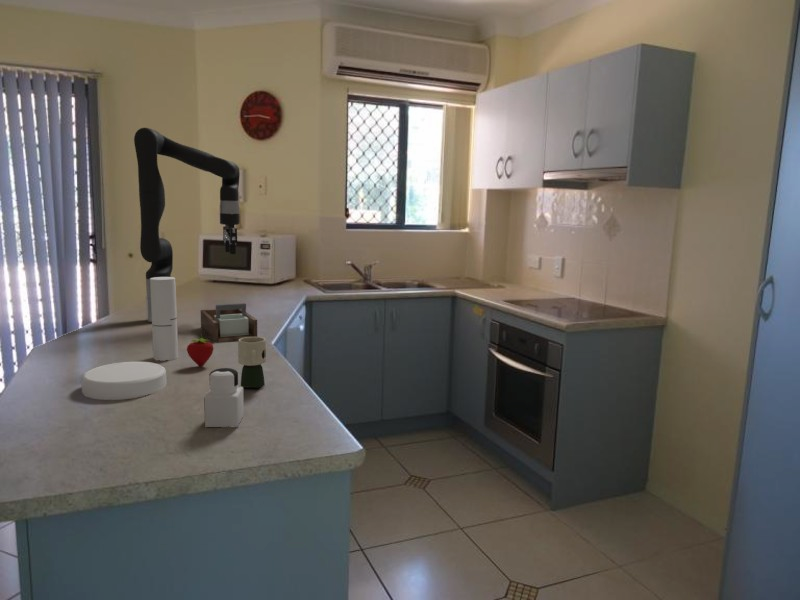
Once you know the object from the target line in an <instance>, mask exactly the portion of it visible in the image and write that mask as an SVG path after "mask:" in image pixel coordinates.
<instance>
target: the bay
mask: <svg viewBox="0 0 800 600" xmlns="http://www.w3.org/2000/svg"><path fill="white" fill-rule="evenodd" d="M228 314H242V309H234V310H220V315H228ZM214 315H216V308H214V309H213V308H211V309H200V328H201V330H202V331H203V332H204V331H205V332H204V333H205V334H206V335H207V336H208V337H209V338H210V339H211V341H213V343H214V342H217V343H223V342H224V341H228V342H237V341H236V340H239V339H241V338H245V337H258V319H257V318H255V317H254V316H252V315H251V314H250V313H248V312H247V311H246V317H247V318H248V325H249V335H240V336H228V337H220V336H219V335H218V323H217V322H216V321H215V320H214ZM224 343H225V342H224Z"/></svg>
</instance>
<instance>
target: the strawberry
mask: <svg viewBox="0 0 800 600" xmlns="http://www.w3.org/2000/svg"><path fill="white" fill-rule="evenodd" d="M200 335H201V338H199V339H192V342H190V343H189V344H188V345H187V347H186V351H187V355H188V357H190V359H191V360H192V361H193V362H194V363H195V365H197V366H198V367H203V366H204V365H205V364H206V363H207V362H208V361H209V359H210V358H211V357H212V355H213V352H214V349H215V348H214V345H213V344H212V343H211V342H210V341H211V340H210V339H209V340H208V339H205V338H203V336H202V334H200Z"/></svg>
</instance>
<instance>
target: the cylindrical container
mask: <svg viewBox="0 0 800 600" xmlns="http://www.w3.org/2000/svg"><path fill="white" fill-rule="evenodd" d="M176 285H177V283H176V277H173V276H172V277H154V278H150V289H151V312H152V322H151V330H152V351H153V353H152V354H153V355H152V356H153V360H154V359H155V360H154V361H158V360H160V361H161V362H163V361H164V362H166V361H165V360H168V361H173V360H176V359H178V358H179V343H178V341H179V340H178V317H177V315H178V313H177V290H176V289H177V288H176V287H177V286H176ZM160 361H159V362H160Z"/></svg>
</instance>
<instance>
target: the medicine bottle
mask: <svg viewBox="0 0 800 600" xmlns="http://www.w3.org/2000/svg"><path fill="white" fill-rule="evenodd" d="M203 400H204V401H203V403H204V404H203V405H204V406H203V407H204V411H203V412H204V427H205V428H206V427H221V428H229V427H228V426H238V425H240V424H239V423H241V422H240V421H242V420H243V418H242V417H244V415H245V414H244V412H245V410H244V409H245V408H244V387H242V386H239V372H238V370H236V369H234V368H232V367H231V368H230V367H221V368H216V369H213V370H212V371H211V372H209V390H208V391H207V393H205V395H204V397H203ZM241 419H242V420H241ZM226 426H227V427H226ZM238 427H239V426H238Z"/></svg>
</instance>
